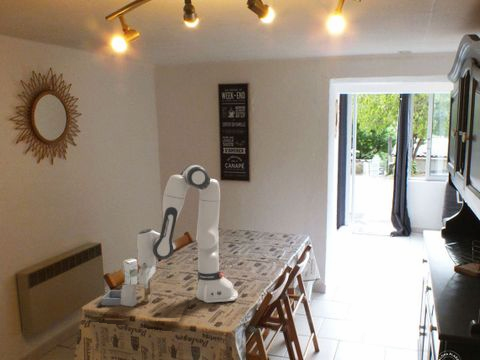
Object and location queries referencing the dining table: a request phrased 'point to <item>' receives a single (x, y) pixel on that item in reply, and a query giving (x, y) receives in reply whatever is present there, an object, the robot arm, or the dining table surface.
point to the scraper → (148, 291)
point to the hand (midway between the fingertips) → (147, 286)
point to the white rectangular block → (128, 295)
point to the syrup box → (130, 272)
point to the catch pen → (111, 301)
